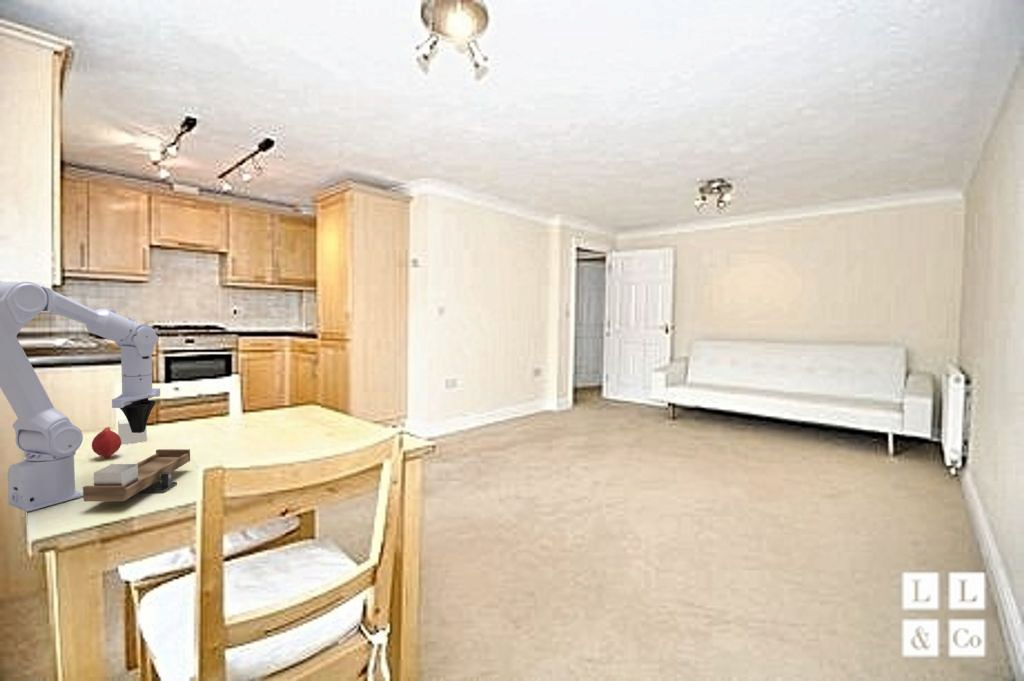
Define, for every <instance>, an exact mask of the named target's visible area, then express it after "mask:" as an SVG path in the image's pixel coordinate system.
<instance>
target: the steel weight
mask: <svg viewBox="0 0 1024 681" xmlns="http://www.w3.org/2000/svg"><path fill="white" fill-rule="evenodd" d="M137 481H138V464H137V463H124V464H123V463H112V464H111V463H110V464H109V465H107V466H105V467H102V468H100V469H98V470H96V471H94V472H93V486H126V488H127V487H128V486H130V485H132V484H134V483H135V482H137Z"/></svg>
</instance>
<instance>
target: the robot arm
mask: <svg viewBox="0 0 1024 681" xmlns="http://www.w3.org/2000/svg"><path fill="white" fill-rule="evenodd" d="M41 312H50V313H53V314H55V315H58V316H62V317H63V318H67V319H70V320H73V321H75V322H78V323H82V324H85V328H86V330H87V331H88V332H89V333H91V334H94V335H96V336H99V337H102V338H104V339H106V340H109V341H112V342H114V343H115V344H116V346H117V347H119V348H120V354H121V355H120V357H121V358H120V361H121V364H120V365H121V394H120V395H118V396H117V397H115V398H113V399H111V408H112V409H120V410H121V412H122V413H123V414H124V416H125V417H126V419H127V420H128V422H129V425H130V428H131V431H132V433H142V432H144V431H145V428H146V429H147V424H148V420H149V417H150V414H151V412H152V410H153V408H154V407H155V406H156V400H153V399H152V398H156V397H161V388H157V387H156V388H153V360H152V359H153V358H152V357H153V356H152V355H153V354H154V347H155V346H156V344H157V343H158V339H159V336H158V335H157V333H156V331H155V330H154V328H153V327H152V326H150V325H149V324H146V323H145V324H142V323H137V322H136V319H134V318H132V317H128V318H127V317H125V316H123V315H120V314H118V313H117V310H116V309H114V308H107V307H106V308H98V309H96V310H94V309H93V308H91V307H88V306H86V305H84V304H82V303H79V302H78V301H76V300H74V299H71V298H70V297H67V296H65V295H63V294H61V293H59V292H56V291H55V290H53V289H52V288H50V287H47V286H41V285H39V284H37V283H35V282H34V281H33V282H32V281H2V280H1V281H0V390H1V391H2V394H3V395H4V396H5V398H6V400H7V401H8V403H9V405H10V407H11V409H12V410H13V412H14V414H15V415H16V417H17V419H16V420H15V421H14V422H13V424H12V428H13V430H14V431H15V444H16V446H17V448H18V449H20V450H21V451H22V452H23V456H24V458H25V459H23V460H22V461H20V462H16V463H12V464H11V465H10V466H9V467H8V471H7V491H8V492H7V495H8V501H7V502H6V505H8V506H11V507H13V508H17V509H19V510H20V511H21V510H22V511H24V512H31V511H36V510H38V509H42V508H45V507H50V506H53V505H57V504H59V503H64V502H67V501H71V500H74V499H78V498H81V497H82V498H83V491H79V490H76V480H75V479H76V474H75V473H76V472H75V455H76V452H77V450H79V448H80V447H81V445H82V443H83V438H84V435H83V433H82V430H81V429H80V427H78V426H76V425H75V424H73V423H72V422H71V420H70V419H69V417H68V416H67V415H66V414H64V413H62V412H61V411H60V410H58V409H57V408H55V406H54V405H53V402H52V401H51V398H50V397H49V395H48V393H47V391H46V390H45V388H44V386H43V384H42V382H41V380H40V379H39V376H38V375H37V373H36V371H35V368H34V367H33V366H32V363H31V362H30V360H29V357H28V356H27V355H26V352H25V350H24V348H23V347H22V345H21V343H20V341H19V339H18V337H17V336H18V334H19V332H20V331H21V330H22V328H24V327H25V326H26V325H27V324H28V323H29V322H30V321H32V320H33V319H34V318H36V317H37V316H38V315H39V314H41ZM150 399H152V400H150Z"/></svg>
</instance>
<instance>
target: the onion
mask: <svg viewBox="0 0 1024 681" xmlns="http://www.w3.org/2000/svg"><path fill="white" fill-rule="evenodd" d="M121 446H122V445H121V438H120V437H119V435H118V433H116V432H114V431H113V430H111V427H110V426H106V427H104V428H103V430H102V431H100V432H99V433H97V434H96V436H94V438H93V440H92V442H91V449H92V451H93V452H94V453H95V454H96V455H98V456H100V457H101V458H105V459H109V458H111V457H112V456H113V455H114V454H115V453H117V452H118V451H119V450H120V448H121Z"/></svg>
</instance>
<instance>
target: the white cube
mask: <svg viewBox="0 0 1024 681" xmlns="http://www.w3.org/2000/svg"><path fill="white" fill-rule="evenodd" d="M117 434H118V435H119V437H120V438H121V446H123V445H122V444H126V445H130V444H129V443H134V444H138V443H137V442H141V443H144V442H143V441H147V438H148V437H147V435H148V434H147V427H146V428H145V431H144V432H142V433H132V431H131V428H130V425H129V422H128V420H127V418H126V419H118V420H117ZM147 442H148V441H147Z"/></svg>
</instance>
